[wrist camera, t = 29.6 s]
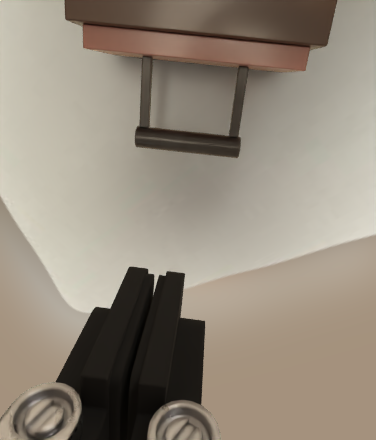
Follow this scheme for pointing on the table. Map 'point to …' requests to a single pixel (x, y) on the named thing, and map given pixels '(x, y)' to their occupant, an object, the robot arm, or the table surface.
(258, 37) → the cabinet
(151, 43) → the drawer
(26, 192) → the table surface
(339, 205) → the table surface
